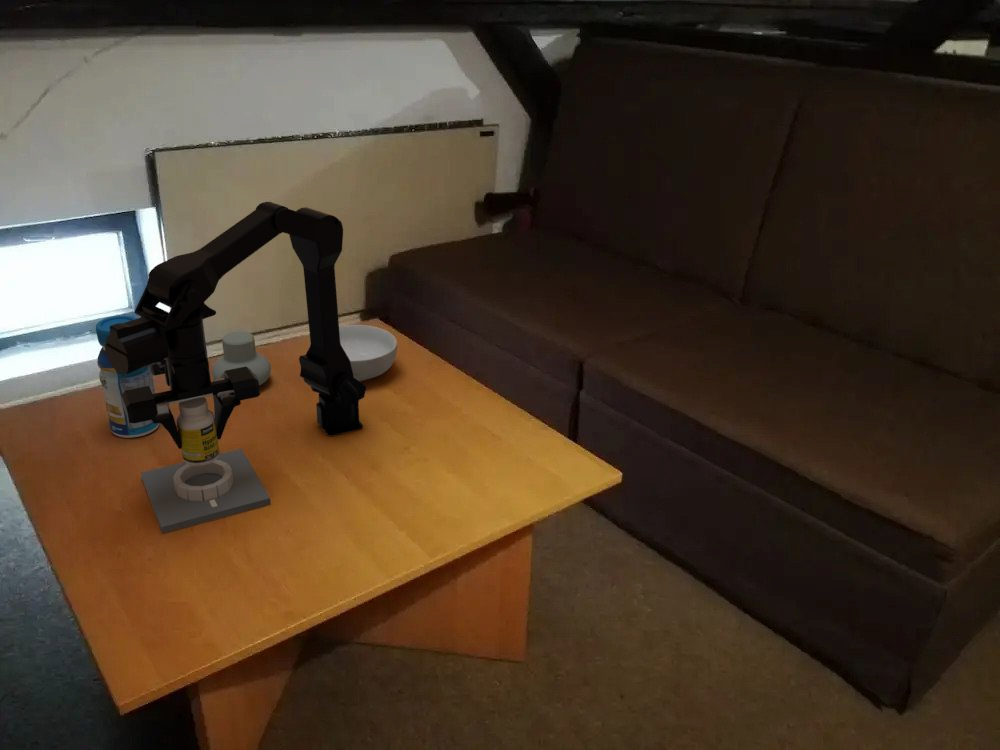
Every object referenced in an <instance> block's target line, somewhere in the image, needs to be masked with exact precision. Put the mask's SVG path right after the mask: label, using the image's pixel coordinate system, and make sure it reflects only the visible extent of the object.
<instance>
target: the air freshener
mask: <svg viewBox="0 0 1000 750" xmlns="http://www.w3.org/2000/svg"><path fill="white" fill-rule="evenodd" d="M221 342H222V343H221V344H222V353H223V355H221V356H220V357H219V358H217V359H216V361H215V362H214V363H213V365H212V368H211V376H212V379H213V380H214V381H215V380H216V379H220V378H224V371H226V370H231V369H236V368H241V367H248V368H249V369H251V371H252V372H253V374H254V375H255V376H256V378H257V379H258V382H259V385H260V386H261V385H263V384H264V383H265V382H266V381H267V380H268V379H269V377H270V375H271V374H272V373H271V371H272V366H271V365H272V364H271V363H270V361H269V359H268V358H267V357H266V356H264V355H263V354H261V353H259V352H257V350H256V349H257V348H256V343H255V335H254V334H253V333H251V332H249V331H244V330H243V331H242V330H241V331H239V330H238V331H231V332H229V333H227V334H225V335H224V336H223V337H222V339H221Z"/></svg>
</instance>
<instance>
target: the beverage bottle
mask: <svg viewBox="0 0 1000 750" xmlns="http://www.w3.org/2000/svg"><path fill="white" fill-rule="evenodd" d="M135 319H138V318H136V317H134V316H131V315H114V316H109V317H105V318H103V319H101V320H99V321H98V322H97V323H96V325H95V331H96V332H95V333H96V337H97V342H98V343H99V346H101V349H100V350H99V354H98V356H97V361H96V363H97V366H98V368H99V369H100V371H99V374H98V379H99V382H100V384H101V387H102V391H103V398H104V402H105V406H106V407H105V408H106V412H107V417H108V418H107V419H108V421H109V422H108V425H109V429H110V432H111V433H113V434H114V435H115V436H117V437H119V438H126V439H130V438H139V437H143V436H147V435H149V434H151V433H152V432H154V431H156V430H157V429H158V427H159V426H160V425H161V423H156V424H155V423H152V421H151V420H148V421H144V422H139V423H129V421H128V418H127V415H126V413H125V410H124V408H123V403H122V398H121V395H122V394H123V392H124V391H125V390H130V389H135V388H140V387H145V386H149V387H150V389H151V392H152V394H155V393H156V388H155V383H154V375H153V374H152V372H151V368H150V366H147V367H145V368H142V369H139V370H136V371H133V372H131V373H128V374H125V375H121V374H119V373H118V372H117V371H116V370H115V369H114V368H113V367H112V365H111V363H110V361H109V360H108V357H107V355H106V351H105V345H106V338H107V336H108V335H110V329H109V327H110V326H111V325H114V324H118V323H125V322H128V321H131V320H135Z"/></svg>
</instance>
